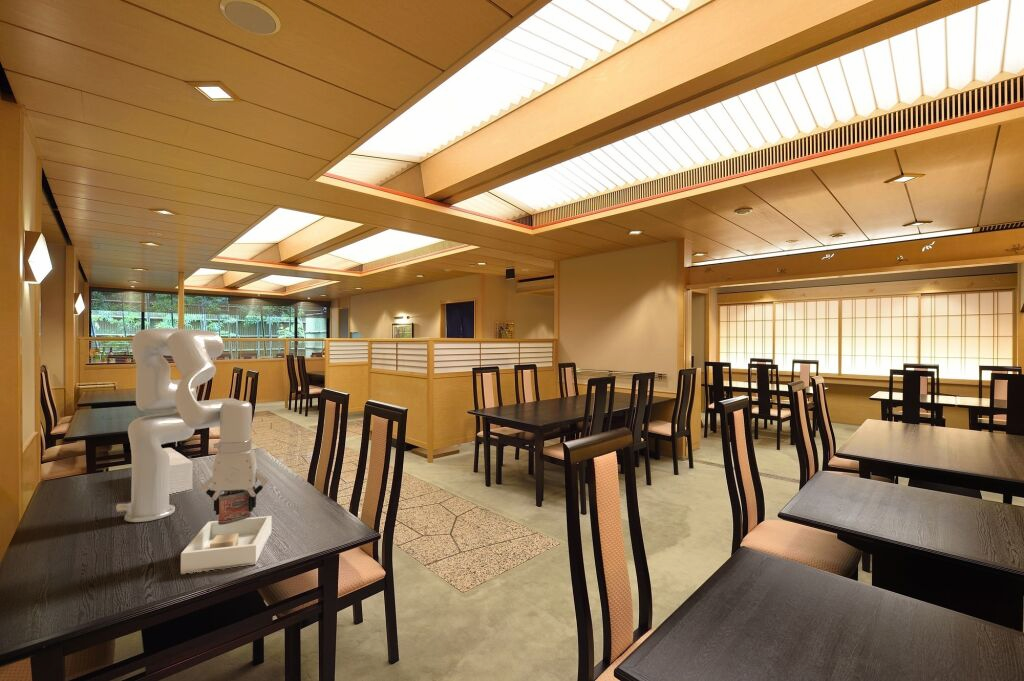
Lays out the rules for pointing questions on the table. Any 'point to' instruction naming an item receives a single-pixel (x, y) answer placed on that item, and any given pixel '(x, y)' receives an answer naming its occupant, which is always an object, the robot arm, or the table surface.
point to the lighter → (233, 506)
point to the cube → (224, 541)
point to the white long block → (179, 472)
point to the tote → (247, 552)
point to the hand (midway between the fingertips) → (235, 511)
